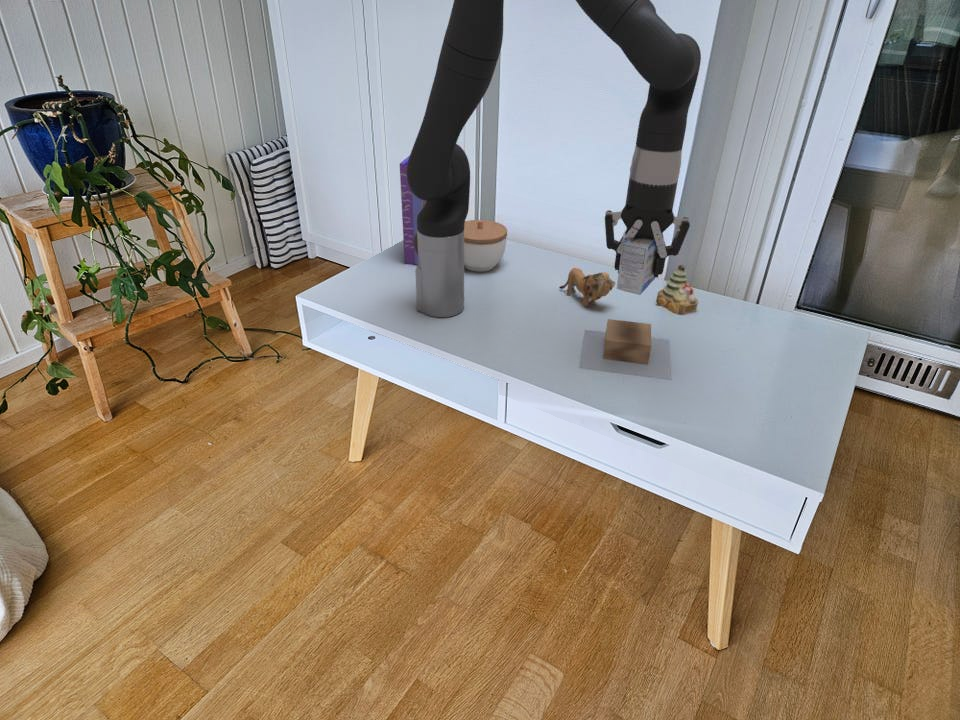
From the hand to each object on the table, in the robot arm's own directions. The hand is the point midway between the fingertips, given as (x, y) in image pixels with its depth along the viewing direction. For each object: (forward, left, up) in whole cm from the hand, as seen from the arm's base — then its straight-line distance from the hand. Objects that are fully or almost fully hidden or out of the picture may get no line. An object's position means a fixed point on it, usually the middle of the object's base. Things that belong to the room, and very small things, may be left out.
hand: (637, 273), depth 110 cm
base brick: (0, 0, -16) cm, 16 cm away
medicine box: (0, 0, -2) cm, 2 cm away
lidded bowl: (-35, +33, -17) cm, 51 cm away
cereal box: (-50, +38, -17) cm, 65 cm away
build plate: (0, -1, -17) cm, 17 cm away
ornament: (+10, +21, -17) cm, 29 cm away
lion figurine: (-9, +19, -17) cm, 27 cm away
